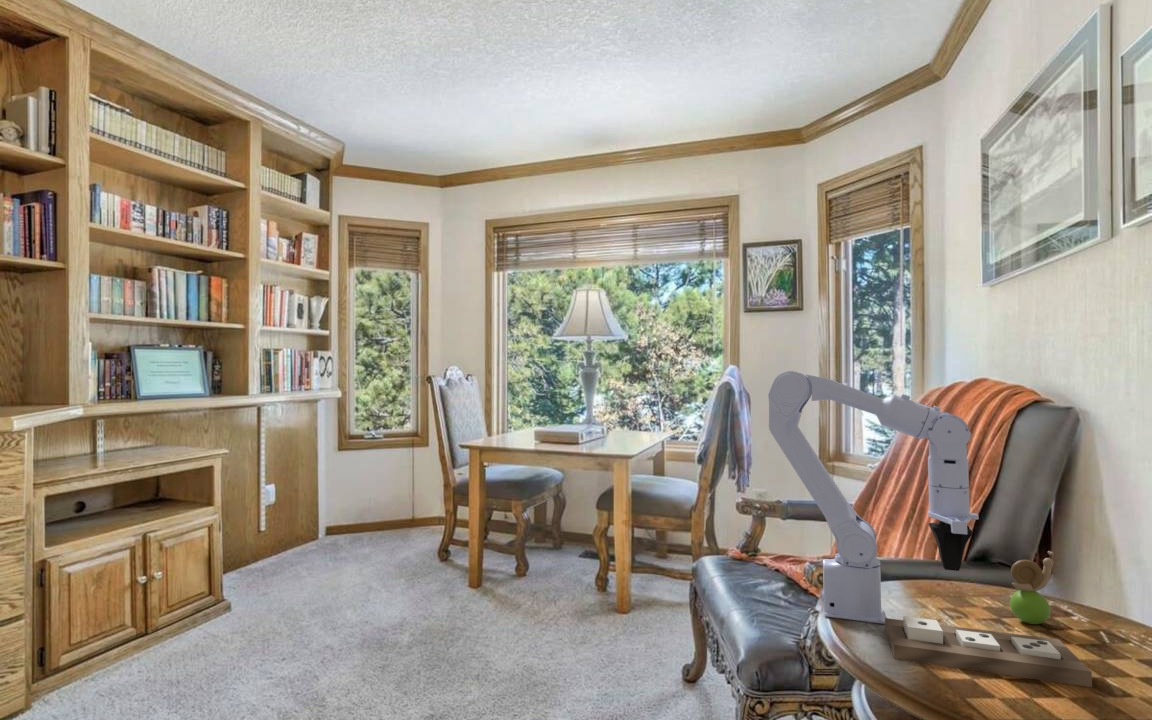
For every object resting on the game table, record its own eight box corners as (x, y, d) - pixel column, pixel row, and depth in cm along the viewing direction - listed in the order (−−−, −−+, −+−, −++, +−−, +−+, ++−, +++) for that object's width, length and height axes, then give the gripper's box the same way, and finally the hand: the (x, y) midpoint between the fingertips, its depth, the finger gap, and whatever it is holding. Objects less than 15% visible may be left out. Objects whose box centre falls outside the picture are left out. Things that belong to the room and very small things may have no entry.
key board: (894, 658, 87) (894, 644, 87) (885, 630, 97) (885, 618, 97) (1092, 687, 78) (1091, 671, 78) (1059, 653, 88) (1058, 639, 89)
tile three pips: (1021, 667, 84) (1021, 648, 84) (1011, 653, 88) (1011, 635, 88) (1061, 672, 82) (1060, 653, 82) (1049, 658, 86) (1048, 640, 86)
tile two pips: (963, 658, 86) (963, 640, 86) (956, 646, 90) (955, 629, 91) (1000, 664, 85) (1000, 645, 85) (991, 651, 89) (991, 633, 89)
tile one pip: (908, 644, 89) (907, 626, 89) (903, 632, 93) (903, 615, 93) (943, 648, 87) (942, 630, 87) (937, 636, 91) (936, 619, 92)
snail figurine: (1065, 631, 97) (1062, 555, 97) (1020, 628, 98) (1017, 553, 99) (1046, 618, 102) (1043, 547, 103) (1004, 616, 103) (1001, 545, 104)
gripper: (989, 494, 91) (992, 585, 90) (965, 481, 105) (968, 560, 104) (936, 491, 94) (938, 579, 93) (919, 479, 107) (922, 556, 106)
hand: (951, 569), depth 99 cm, fingers closed
